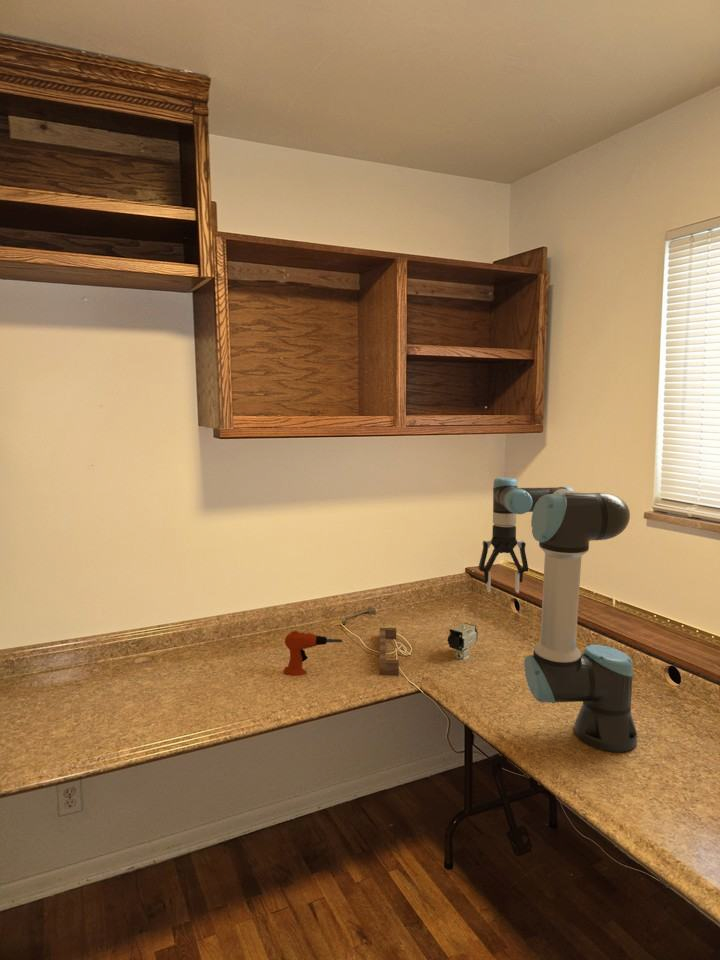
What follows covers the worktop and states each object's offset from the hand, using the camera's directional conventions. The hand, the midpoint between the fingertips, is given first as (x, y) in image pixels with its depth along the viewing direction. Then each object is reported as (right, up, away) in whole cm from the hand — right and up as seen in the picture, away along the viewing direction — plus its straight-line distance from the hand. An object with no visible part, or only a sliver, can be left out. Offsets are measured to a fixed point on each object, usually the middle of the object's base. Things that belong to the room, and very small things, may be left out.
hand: (502, 591), depth 198 cm
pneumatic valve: (-13, -24, +3) cm, 27 cm away
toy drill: (-62, -25, -10) cm, 68 cm away
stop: (-38, -23, +4) cm, 45 cm away
